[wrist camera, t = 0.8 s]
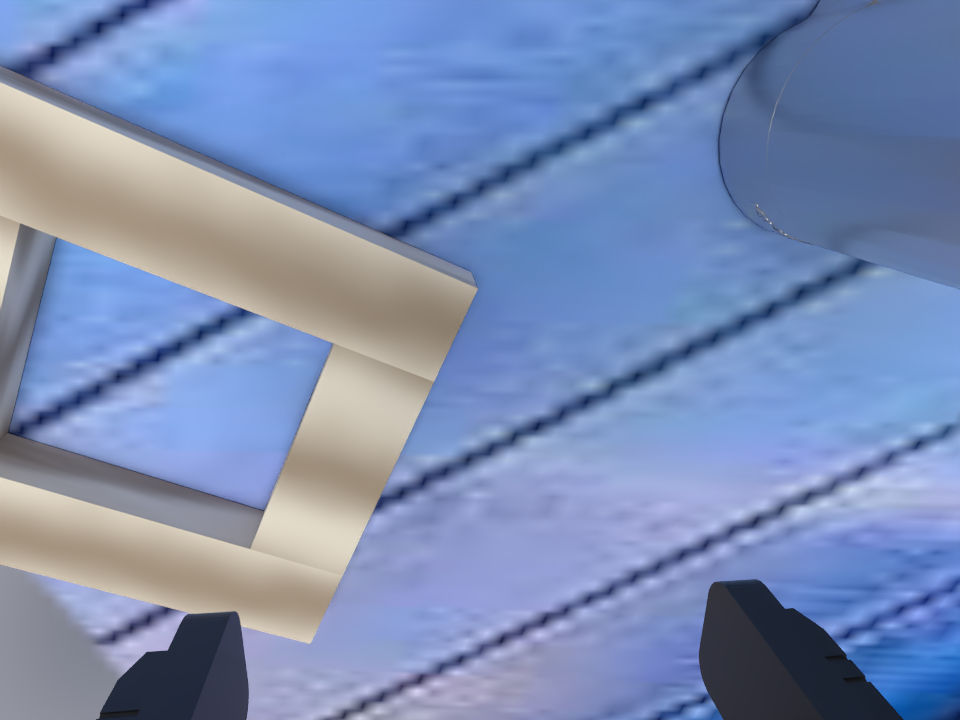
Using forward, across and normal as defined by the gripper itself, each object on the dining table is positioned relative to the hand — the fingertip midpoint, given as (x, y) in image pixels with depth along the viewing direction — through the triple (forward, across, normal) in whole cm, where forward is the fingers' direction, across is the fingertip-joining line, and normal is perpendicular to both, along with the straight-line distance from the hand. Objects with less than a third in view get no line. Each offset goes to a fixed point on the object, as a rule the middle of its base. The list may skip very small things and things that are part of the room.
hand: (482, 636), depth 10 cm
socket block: (+20, +12, +2) cm, 23 cm away
